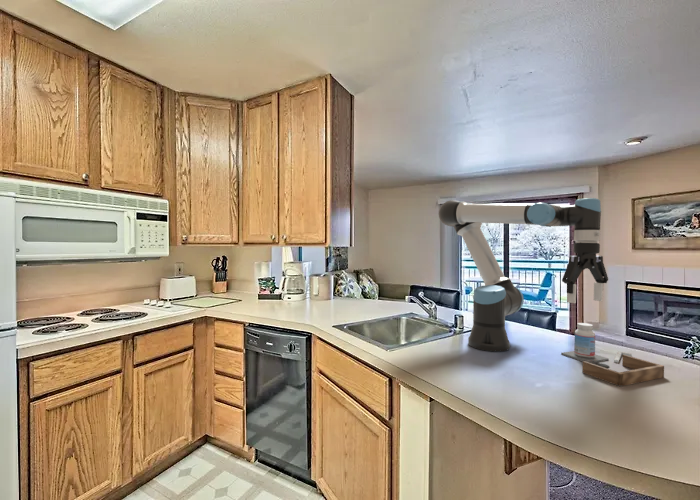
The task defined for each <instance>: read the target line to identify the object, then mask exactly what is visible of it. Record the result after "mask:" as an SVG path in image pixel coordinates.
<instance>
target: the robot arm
mask: <svg viewBox="0 0 700 500" xmlns="http://www.w3.org/2000/svg"><path fill="white" fill-rule="evenodd" d="M601 207H602V206H601V200H600V199H599V198H595V197H593V198H592V197H589V198H587V197H585V198H578V199H576V200H575V201H574V204H572V205H554V204H550V203H546V202H536V203H472V202H470V201H469V202H468V201H461V200H460V201H459V200H454V199H451V200H447V201H445V202H444V203H442V204H441V206H440V208H439V210H438V218H439V220H440V222H442V223H443V225H445V226H447V227H453V228H454V230H455V232H456V234H457V236H461V237H462V239H463V241H464V243H465V246H466V247H467V249H468V252H469V254H470V256H471V258H472V260H473V262H474V264H475V266H476V268H477V270H478V272H479V274H480V276H481V279H482V281H483V282H484V285H480V286H477V287H475V289H474V291H473V296H472V298H473V308H472V311H473V312H472V313H473V319H472V321H473V323H472V327H471V331H470V335H469V336H468V339H467V340H468V342H467V343H468V345H469V346H470V347H472V348H474V349H477V350H480V351H488V352H505V351H506V352H507V351H509V350H510V345H511V344H510V340H509V338H508V334H507V333H508V332H507V330H506V316H510V315H513V314H516V313H517V312H519V311H520V310H522V309H521V308H522V307H523V305H524V302H525V300H524V294H523V293H522V290H520V289H519V287H516V286H514V284H513V281H512V279H510V278H509V277H506V276H505V275H504V272H503V270H502V269H501V266H500V265H499V262H498V260H497V259H496V256H495V255H494V253H493V250H492V249H491V246H490V244H489V243H488V240H487V239H486V237H485V234H484V233H483V231H482V229H481V227H482V224H483V223H484V224H505V225H506V224H510V225H511V224H512V225H514V224H515V225H534V226H535V225H537V226H541V227H547V228H548V227H549V228H551V227H568V226H569V227H574V232H573V233H574V234H573V235H574V236H573V241H574V244H573V253H575V254H576V255H569V259H568V264H567V266H566V268H565V271H564V274H563V277H562V279H561V281H562V283H564V284H566V303H571V304H576V303H577V284H575V283H576V282H577V280H578V279H579V277H580V275H581V274H582V272H583V271H585V270H586V269H587V270H588V271H589V272H590V274H591V275H592V277H593V279H594V281H595V282H594V283H593V301H597V302H603V301H604V300H603V297H604V284H607V283H608V281H609V276H608V273H607V270H606V267H605V264H604V256H603V255H597V254H599V253H600V248H601V245H600V243H599V242H600V241H601V233H600V232H601V220H602V219H601V216H602V208H601Z"/></svg>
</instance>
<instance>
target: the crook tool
mask: <svg viewBox="0 0 700 500" xmlns="http://www.w3.org/2000/svg"><path fill="white" fill-rule="evenodd" d="M623 355H627V356H631V357H633V353H630V352H626V351H625V352H624V351H619V350H617V352H616V354H615V357H614V359H613V363H615V364H619V362H620V361H619V360H621V357H623Z"/></svg>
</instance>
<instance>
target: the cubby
mask: <svg viewBox="0 0 700 500" xmlns="http://www.w3.org/2000/svg"><path fill="white" fill-rule="evenodd" d="M621 360H622V364H621V365H622V366H623V367H626V368H629V369H630V370H625V371H616V370H613V369H610V368H604V367H601V366H598V365H595V363H589V362H586V361H582V368H581V369H582V373H583V374H585V375H588V376H591V377H594V378H595V379H600V380H602V381H605V382H607V383H611V384H612V385H616V386H619V387H624V386H628V385H633V384H638V383H644V382H648V381H652V380H656V379H657V380H659V379H662V378H664V377H665V365H663V364H662V365H661V364H659V363H657V362H652V361H649V360H644V359H641V358H637V357H633V356H632V357H631V356H627V355H622V359H621Z"/></svg>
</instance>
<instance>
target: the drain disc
mask: <svg viewBox="0 0 700 500" xmlns="http://www.w3.org/2000/svg"><path fill="white" fill-rule="evenodd" d="M594 364H595V365H598V366H601V367H604V368H607V369H610V365H608V364H605V363H602V362H601V363H600V362H595V363H594Z"/></svg>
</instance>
